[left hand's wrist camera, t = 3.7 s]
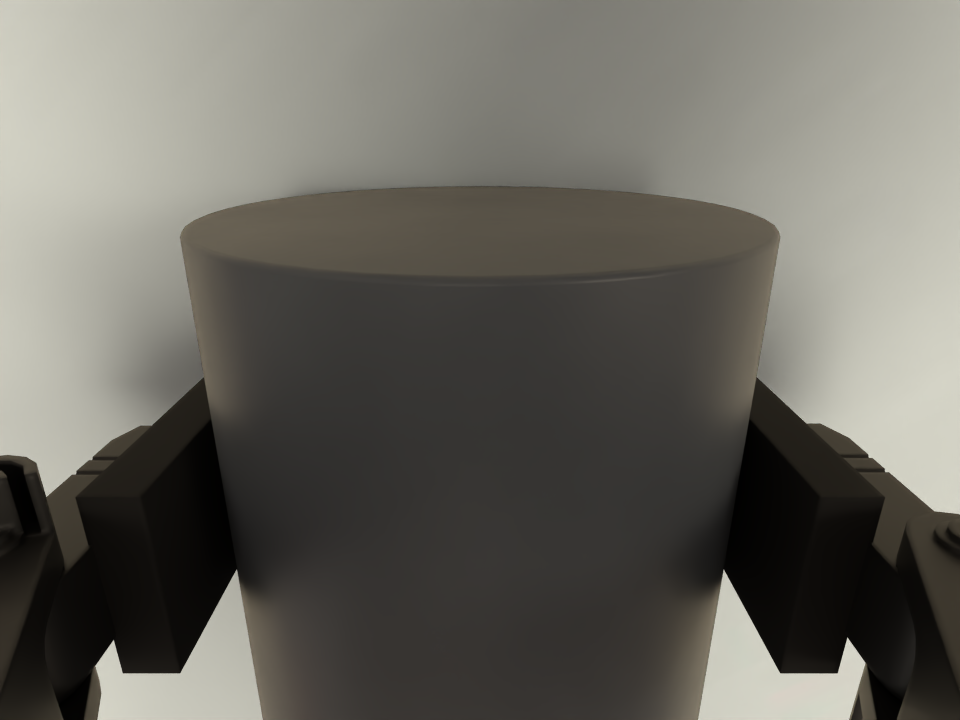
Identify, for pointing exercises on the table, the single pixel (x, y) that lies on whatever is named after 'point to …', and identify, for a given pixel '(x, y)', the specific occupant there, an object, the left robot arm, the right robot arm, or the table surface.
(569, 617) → the rod
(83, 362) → the table surface
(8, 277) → the table surface
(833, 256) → the table surface
